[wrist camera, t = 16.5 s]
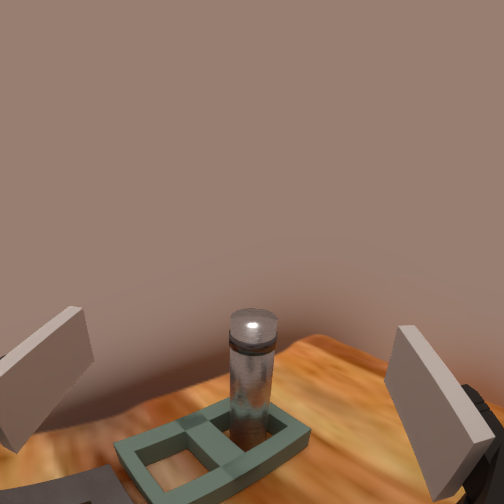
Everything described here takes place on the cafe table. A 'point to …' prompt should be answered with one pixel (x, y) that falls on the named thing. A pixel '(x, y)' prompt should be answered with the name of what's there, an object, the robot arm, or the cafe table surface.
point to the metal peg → (251, 375)
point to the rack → (210, 454)
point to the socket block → (72, 490)
